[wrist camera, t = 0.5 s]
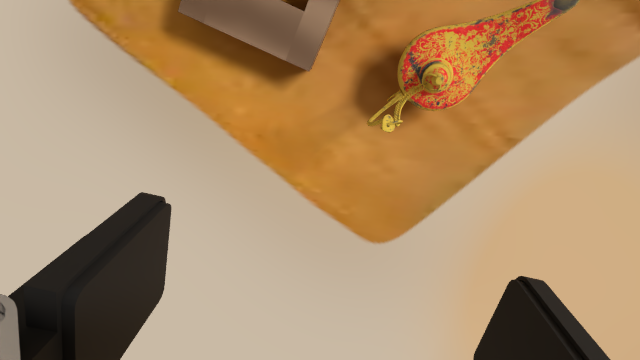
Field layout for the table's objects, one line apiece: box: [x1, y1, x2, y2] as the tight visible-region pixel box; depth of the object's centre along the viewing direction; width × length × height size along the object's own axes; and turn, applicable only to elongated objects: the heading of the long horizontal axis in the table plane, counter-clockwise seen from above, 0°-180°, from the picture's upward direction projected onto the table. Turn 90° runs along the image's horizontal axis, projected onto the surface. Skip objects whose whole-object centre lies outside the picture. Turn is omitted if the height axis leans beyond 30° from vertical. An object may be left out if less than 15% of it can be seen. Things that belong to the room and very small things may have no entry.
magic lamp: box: [367, 0, 580, 132], centre depth 30 cm, size 7×18×11 cm, turn 124°
